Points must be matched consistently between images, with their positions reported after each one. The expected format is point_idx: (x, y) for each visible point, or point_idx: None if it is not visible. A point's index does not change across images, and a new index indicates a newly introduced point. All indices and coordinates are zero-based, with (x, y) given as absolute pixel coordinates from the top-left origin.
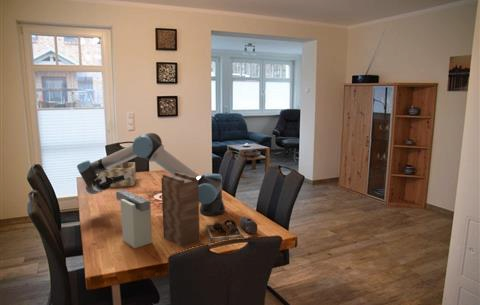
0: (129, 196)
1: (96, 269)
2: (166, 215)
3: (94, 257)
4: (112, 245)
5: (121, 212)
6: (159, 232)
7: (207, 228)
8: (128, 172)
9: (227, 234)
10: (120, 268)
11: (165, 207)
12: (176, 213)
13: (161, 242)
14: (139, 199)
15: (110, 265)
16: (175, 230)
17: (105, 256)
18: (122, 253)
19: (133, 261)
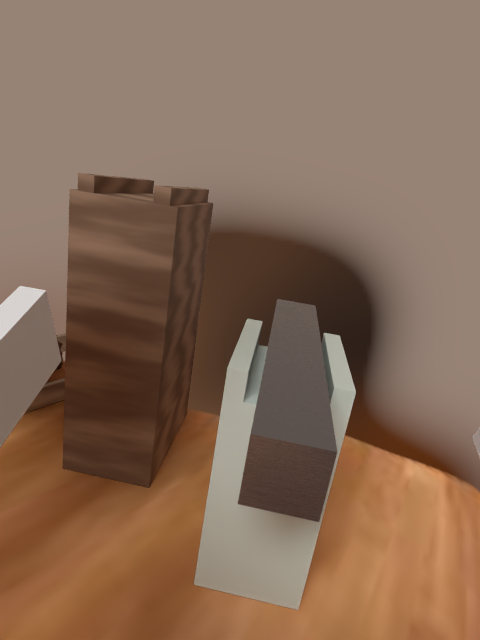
0: (312, 347)
1: (461, 500)
2: (169, 375)
3: (466, 571)
4: (366, 605)
5: (335, 464)
6: (109, 530)
7: (55, 383)
8: (39, 303)
9: (62, 359)
10: (390, 459)
11: (171, 345)
12: (192, 323)
13: (195, 468)
14: (297, 316)
15: (414, 487)
16: (182, 389)
17: (420, 543)
18: (354, 513)
19: (344, 458)
